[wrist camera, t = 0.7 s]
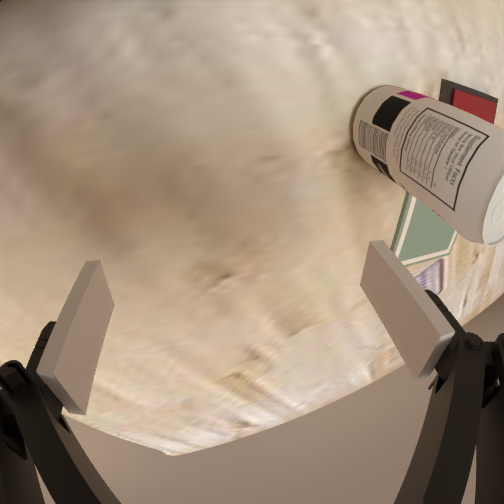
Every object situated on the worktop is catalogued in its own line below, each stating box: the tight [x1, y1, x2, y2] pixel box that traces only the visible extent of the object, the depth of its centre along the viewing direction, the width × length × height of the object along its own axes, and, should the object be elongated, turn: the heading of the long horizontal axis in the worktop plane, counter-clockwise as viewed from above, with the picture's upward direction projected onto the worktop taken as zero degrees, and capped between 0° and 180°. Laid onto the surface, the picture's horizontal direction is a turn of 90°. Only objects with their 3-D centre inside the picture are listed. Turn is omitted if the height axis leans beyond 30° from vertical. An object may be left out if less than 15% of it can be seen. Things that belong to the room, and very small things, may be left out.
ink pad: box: [439, 79, 498, 124], centre depth 27 cm, size 11×11×2 cm
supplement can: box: [353, 85, 504, 247], centre depth 20 cm, size 8×8×15 cm
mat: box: [391, 192, 458, 267], centre depth 35 cm, size 14×14×1 cm
